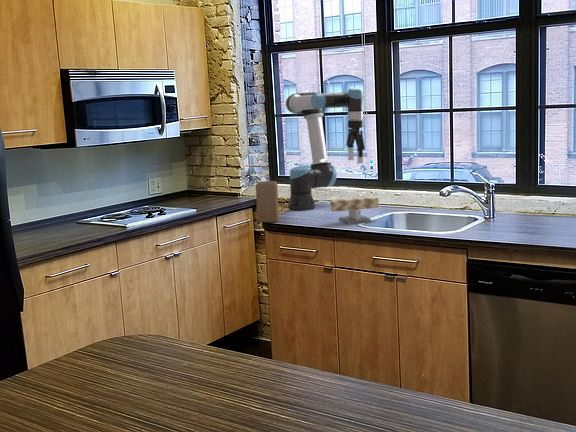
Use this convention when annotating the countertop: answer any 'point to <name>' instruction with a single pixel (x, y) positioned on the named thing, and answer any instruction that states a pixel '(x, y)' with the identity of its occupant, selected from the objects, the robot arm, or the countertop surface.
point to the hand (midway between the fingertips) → (355, 161)
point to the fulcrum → (354, 217)
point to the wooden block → (267, 201)
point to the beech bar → (354, 204)
